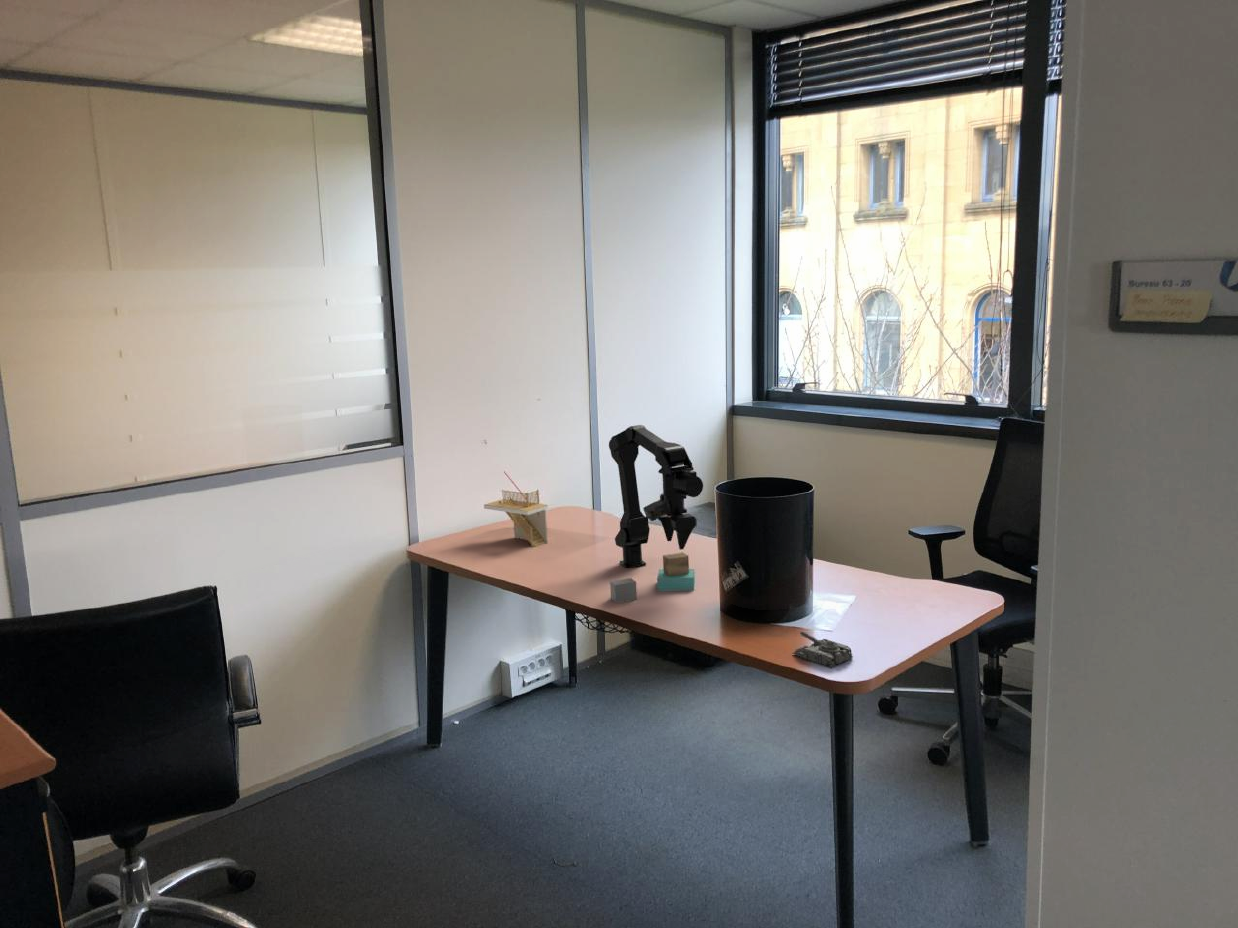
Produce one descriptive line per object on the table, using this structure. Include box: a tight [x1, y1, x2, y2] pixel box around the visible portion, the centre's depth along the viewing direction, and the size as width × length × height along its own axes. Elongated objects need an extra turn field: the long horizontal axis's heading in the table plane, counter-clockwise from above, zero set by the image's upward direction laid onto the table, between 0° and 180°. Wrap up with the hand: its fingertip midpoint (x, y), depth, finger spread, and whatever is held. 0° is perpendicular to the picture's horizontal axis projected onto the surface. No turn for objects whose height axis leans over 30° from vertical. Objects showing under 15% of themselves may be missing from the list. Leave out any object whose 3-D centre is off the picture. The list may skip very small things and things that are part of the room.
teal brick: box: [656, 568, 696, 592], centre depth 269 cm, size 8×10×4 cm
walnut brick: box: [662, 551, 690, 576], centre depth 268 cm, size 4×6×5 cm, turn 110°
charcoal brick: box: [609, 577, 638, 604], centre depth 260 cm, size 4×6×5 cm, turn 109°
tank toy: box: [791, 631, 854, 669], centre depth 214 cm, size 12×10×5 cm
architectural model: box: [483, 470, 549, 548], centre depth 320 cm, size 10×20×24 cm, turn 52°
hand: (675, 545), depth 269 cm, fingers open, 9 cm apart
